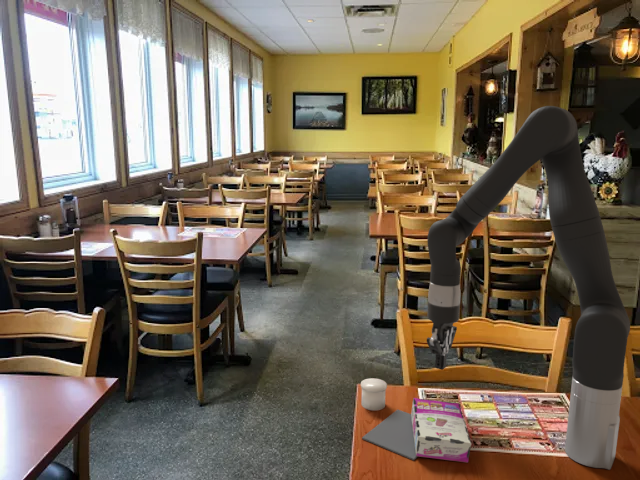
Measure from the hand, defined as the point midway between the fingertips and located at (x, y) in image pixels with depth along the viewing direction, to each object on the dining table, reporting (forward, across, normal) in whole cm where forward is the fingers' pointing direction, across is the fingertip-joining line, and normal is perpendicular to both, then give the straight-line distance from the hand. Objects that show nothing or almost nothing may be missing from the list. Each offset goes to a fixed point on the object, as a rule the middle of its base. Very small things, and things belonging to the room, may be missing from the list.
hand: (440, 367), depth 129 cm
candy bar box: (+8, -6, -2) cm, 10 cm away
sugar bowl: (+11, -8, +14) cm, 20 cm away
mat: (+11, -15, +1) cm, 19 cm away
